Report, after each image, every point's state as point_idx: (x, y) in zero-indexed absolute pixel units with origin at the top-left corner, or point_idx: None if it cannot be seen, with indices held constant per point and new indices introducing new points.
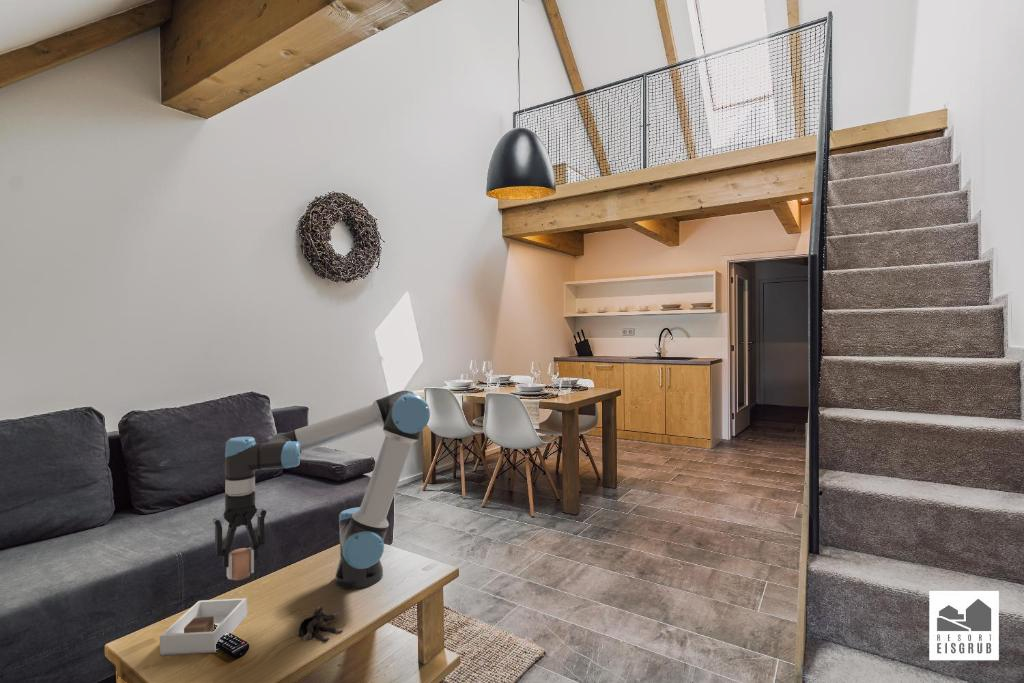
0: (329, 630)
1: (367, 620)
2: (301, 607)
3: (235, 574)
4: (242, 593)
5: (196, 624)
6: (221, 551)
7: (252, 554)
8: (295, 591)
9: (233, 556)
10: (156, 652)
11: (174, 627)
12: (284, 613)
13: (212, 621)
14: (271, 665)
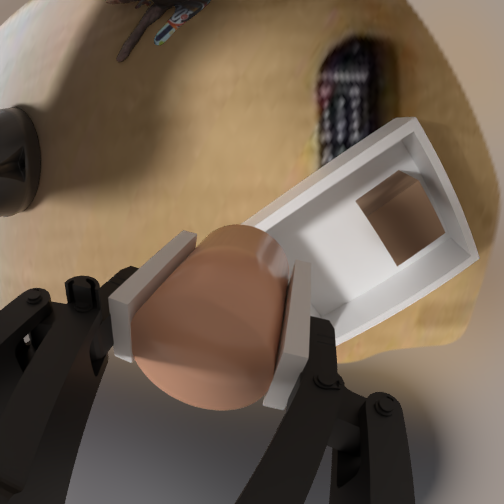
0: None
1: None
2: (128, 131)
3: (278, 260)
4: None
5: (420, 218)
6: (371, 418)
7: (136, 283)
8: (104, 230)
9: (270, 343)
10: None
11: (434, 276)
12: (170, 139)
13: (370, 208)
14: None
